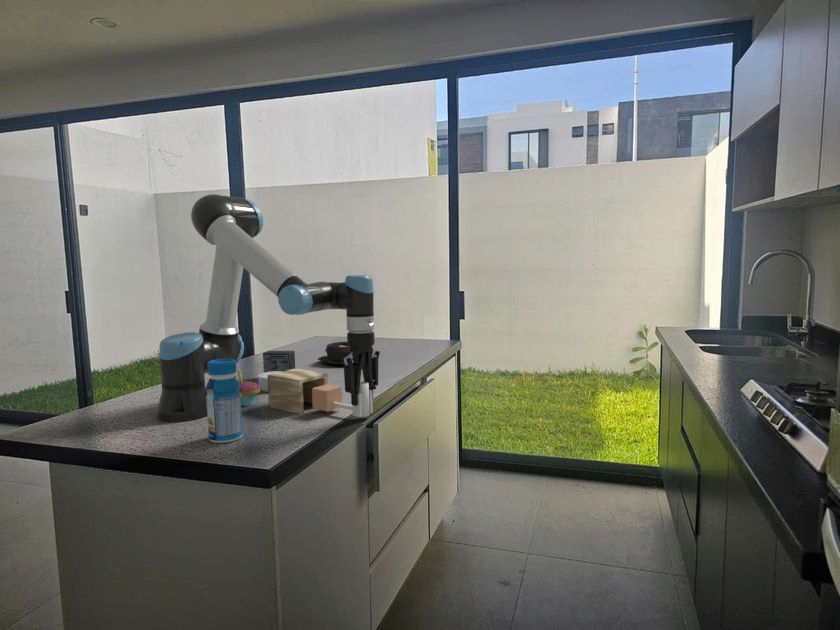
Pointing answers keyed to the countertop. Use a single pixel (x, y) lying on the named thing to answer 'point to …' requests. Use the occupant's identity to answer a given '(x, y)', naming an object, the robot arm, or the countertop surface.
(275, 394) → the shelf slot
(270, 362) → the small box
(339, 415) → the countertop surface
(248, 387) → the cupcake
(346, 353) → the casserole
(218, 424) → the beverage bottle
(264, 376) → the ramekin
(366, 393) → the tethered block
